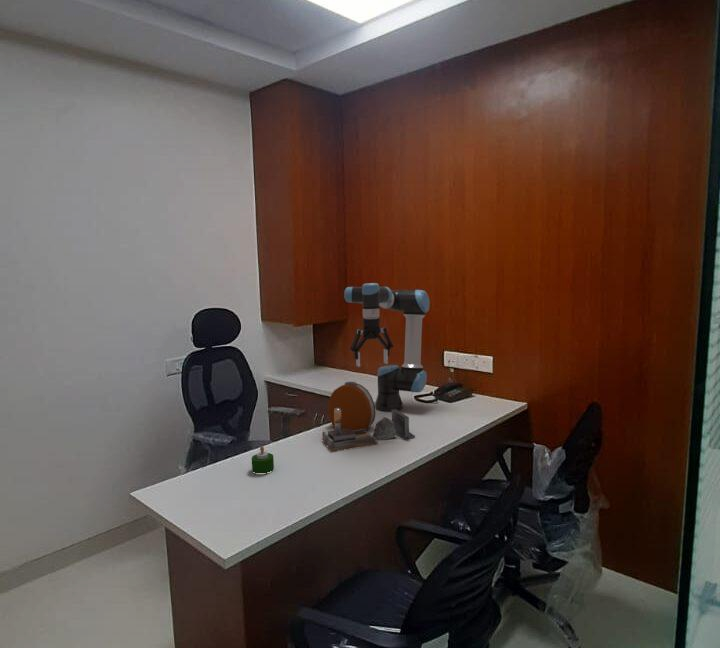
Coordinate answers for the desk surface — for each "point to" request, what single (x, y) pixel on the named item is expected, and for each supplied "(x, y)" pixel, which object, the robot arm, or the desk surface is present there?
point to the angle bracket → (401, 424)
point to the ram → (340, 433)
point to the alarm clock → (352, 406)
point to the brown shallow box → (350, 441)
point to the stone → (384, 429)
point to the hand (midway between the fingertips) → (372, 364)
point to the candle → (262, 462)
